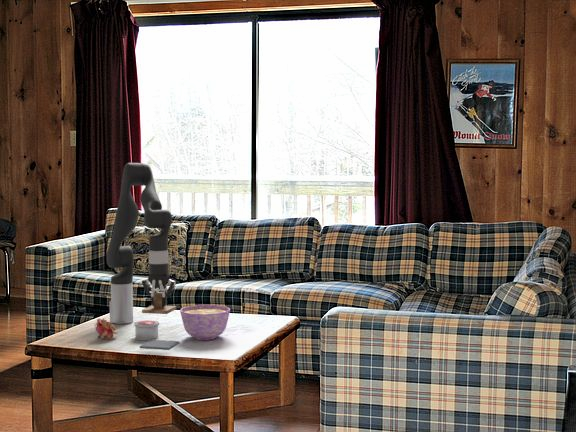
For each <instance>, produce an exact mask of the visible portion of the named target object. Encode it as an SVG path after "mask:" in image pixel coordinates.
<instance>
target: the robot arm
mask: <svg viewBox="0 0 576 432" xmlns="http://www.w3.org/2000/svg"><path fill="white" fill-rule="evenodd" d="M132 186H135V187H137V186H139V187H140V186H141V187H142V186H145V187H144V189H142V192H141V193H140V196H139V197H140V204H141V206H142V208H143V209H142V210H143V213H144V217H143V222H144V225H145V226H146V228H148V229H150V230H151V229H160V231H159V232H158V233H154V234H151V235H149V238H148V246H149V247H148V248H149V249H148V250H149V251H148V277H147V279H144V280H142V281H141V284H142V287H143V289H144V291H145V293H146V295H147V296H149V297H150V298H151V299H150V304H151V305H153V306H154V293H155V292H158V289H160V292H162V307H165V306H168V305H167V304H168V297H170V296H172V294H173V292H174V289H175V287H176V284H177V280H173V279H171V278H170V276H169V275H170V273H169V272H170V270H169V269H170V268H169V266H170V265H169V264H170V259H169V250H168V248H169V245H168V244H169V243H168V241H169V233H170V229H171V226H172V221H173V216H172V213H171V211H170V210H168V209H163V205H162V202H161V200H160V199H159V196H158V193H157V190H156V185H155V178H154V174H153V171H152V167H151V166H150V165H149V164H147V163H141V162H127V163H126V164H125V165H124V167H123V171H122V177H121V186H120V194H119V199H118V204H117V207H116V208H117V209H116V212H115V218H114V224H113V229H112V235H111V238H110V242H109V245H108V248H107V251H106V265H107V266H108V267H109V268H111V269H117V268H118V269H119V268H122V269H121V270H120V271H119V272H118V273H116V274H114V275H112V276H111V277H110V292H111V293H110V295H111V296H110V299H111V300H109V322H110V323H112V324H117V325H122V324H123V325H124V324H131V323H134V298H133V297H134V296H133V295H134V292H133V291H134V290H133V288H134V287H133V285H134V283H133V278H134V257H135V256H134V251H133V248H132V247H131V246H130V245H122V244H123V242H124V241H125V240H126V238H128V236H129V235H130V234H131V233H132V232H133V231H135V228H136V226H137V224H138V220H139V214H140V211H139V206H138V204H137V203H136V201H135V200H134V198H133V195H132V192H131V188H132ZM150 285H151V286H150ZM167 285H169V287H167Z"/></svg>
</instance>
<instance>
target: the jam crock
mask: <svg viewBox="0 0 576 432" xmlns="http://www.w3.org/2000/svg"><path fill="white" fill-rule="evenodd" d="M133 323H134V324H133V325H134V328H135V330H134V331H135V335H134V336H135V340H137V341H138V340H139V341H149V340H157V339H158V338H159V326H160V322H159V321H158V320H153V319H152V320H151V319H149V320H138V321H136V322H133Z"/></svg>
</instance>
